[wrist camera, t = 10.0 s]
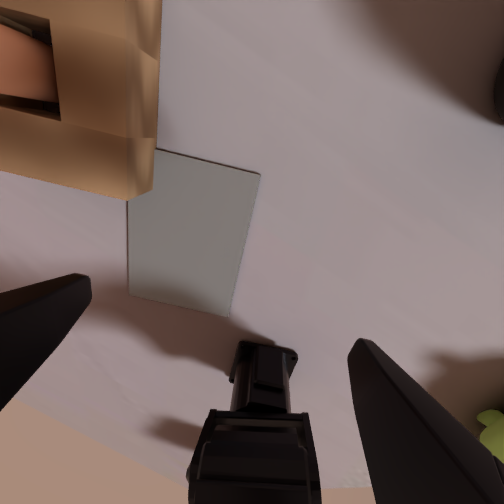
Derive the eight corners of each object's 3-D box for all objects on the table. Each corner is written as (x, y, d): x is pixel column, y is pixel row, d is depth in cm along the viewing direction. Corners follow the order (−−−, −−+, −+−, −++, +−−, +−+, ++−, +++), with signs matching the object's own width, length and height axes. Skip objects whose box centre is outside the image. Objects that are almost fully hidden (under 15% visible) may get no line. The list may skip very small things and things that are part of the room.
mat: (228, 315, 24) (227, 317, 24) (130, 293, 24) (128, 295, 23) (260, 174, 18) (260, 175, 17) (129, 142, 17) (127, 142, 17)
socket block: (154, 188, 19) (127, 200, 15) (3, 152, 18) (-62, 155, 15) (162, -17, 14) (123, -74, 10) (-48, -74, 13) (-167, -153, 10)
